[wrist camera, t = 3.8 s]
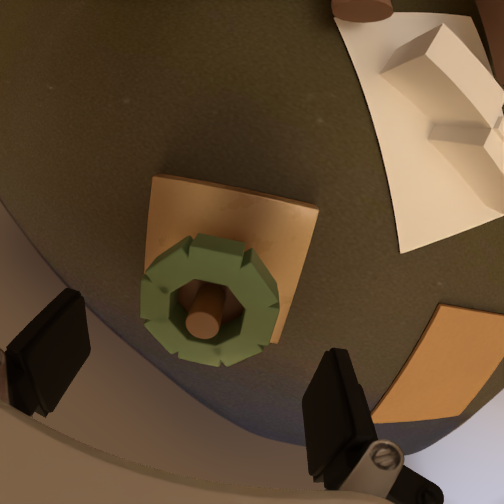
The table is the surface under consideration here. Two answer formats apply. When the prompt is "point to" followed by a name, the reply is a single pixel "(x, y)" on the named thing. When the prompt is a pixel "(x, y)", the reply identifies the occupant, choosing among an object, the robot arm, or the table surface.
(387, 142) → the napkin holder
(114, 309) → the table surface
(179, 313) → the ring
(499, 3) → the toilet paper hanger
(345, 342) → the table surface
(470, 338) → the cork mat
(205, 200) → the ring peg
